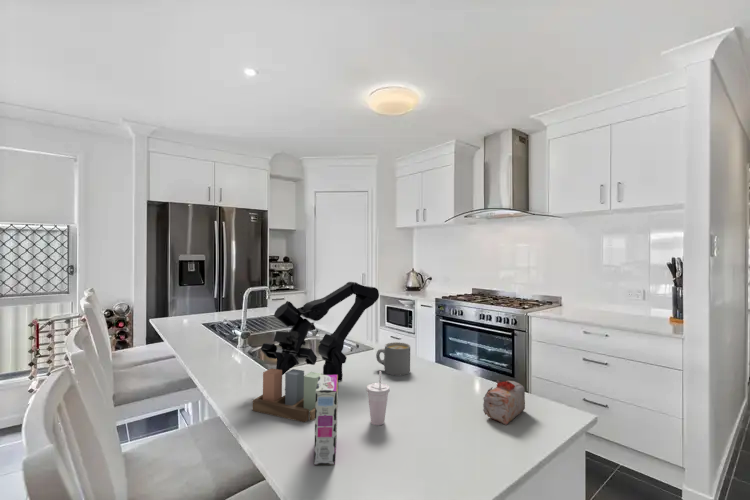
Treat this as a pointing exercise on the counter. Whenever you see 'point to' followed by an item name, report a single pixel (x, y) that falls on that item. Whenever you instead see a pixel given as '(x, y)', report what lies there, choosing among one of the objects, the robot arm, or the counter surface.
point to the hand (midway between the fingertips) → (276, 377)
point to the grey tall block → (294, 386)
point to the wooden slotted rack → (283, 409)
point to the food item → (504, 401)
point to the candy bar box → (326, 420)
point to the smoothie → (377, 401)
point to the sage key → (310, 389)
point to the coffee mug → (395, 358)
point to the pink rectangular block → (272, 385)
